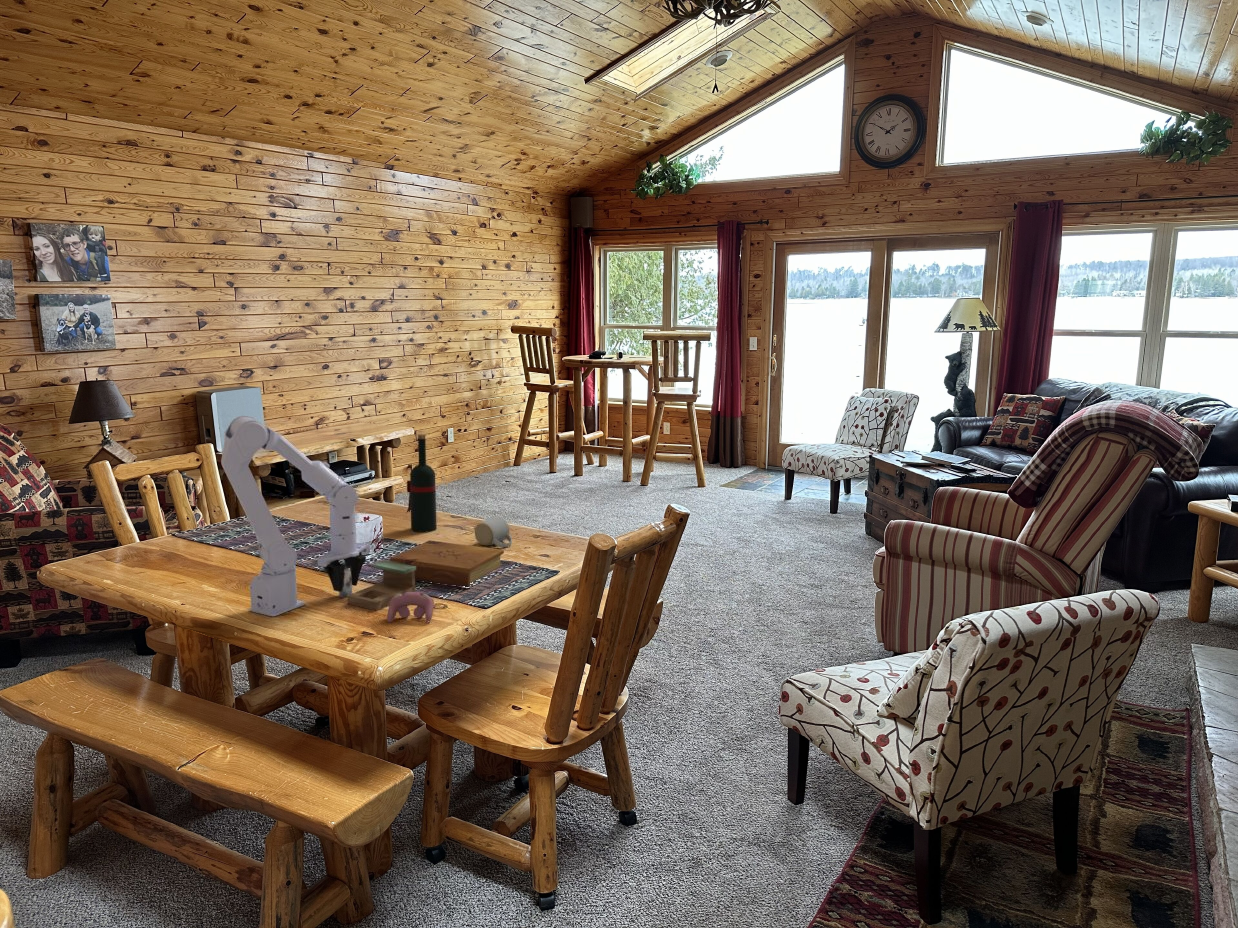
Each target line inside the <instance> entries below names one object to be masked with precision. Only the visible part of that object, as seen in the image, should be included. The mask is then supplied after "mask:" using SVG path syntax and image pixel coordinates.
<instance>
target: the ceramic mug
mask: <svg viewBox="0 0 1238 928" xmlns="http://www.w3.org/2000/svg"><path fill="white" fill-rule="evenodd" d="M474 537H475V539H476V541H477V543H479V544H480V545H481V546H483V547H487V546H492V545H495V546H496V547H499V548H504V547H506V548H508V546H509V547H511V545H512V543H513V539H512V536H510V527H509V524H508V522H507V520H506V519H505V518H504V517H502V516H501V515H495V516H492V517H490V518H488V519H485V520H483V521H481V522H480V523H478V524H477V525H476V526H475V528H474ZM506 540H507V541H508V542H503V541H506Z"/></svg>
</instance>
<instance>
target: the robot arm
mask: <svg viewBox="0 0 1238 928" xmlns="http://www.w3.org/2000/svg"><path fill="white" fill-rule="evenodd" d="M261 449H263V450H265V451H271V452H273V451H274V452H275V453H277V454H278V455H280V456H281V457H282V458H283V459H285V460H286V461H287V462H289V463H290V464H292V465H293V466H294V467H295V468H297V469H298V470H299V471H300V472H301V480H302V481H303V482H305V483H306V484H307V485H309V486H310V487H311V488H312V489H314V491H315V492H317V493H318V494H319V495H321V496H322V497H324V498H325V500H326V501H327V502H329V503H330V504H329V525H330V526H329V528H330V529H329V530H330V533H329V535H330V551H328V552H326V553H325V554H323V555H321V556H319V557H317V566H318V567H322V568H323V569H324V571H325V572H326V575H328V578H329V580H330V583H331V586H332V589H333V591H335V592H337V593H339V592H341V591H342V589H343V573H344V569H345V566H351V570H352V587H353V586H354V587H356V586H358V583H359V582H358V581H359V577H360V575H361V574H360V573H361V570H362V568H363V566H364V564H365V562H366V560H367V556H366V555H365V554H364V555H363V553H368V552H370V544H369V543H366V542H362V543H358V544H357V526H356V525H357V522H356V520H357V519H356V510H355V509H356V507H355V506H356V505H357V503H358V501H359V498H360V497H359V495H358V493H357V491H356V489H355V488H354V487H353V486H352V485H350V484H349V483H347V482H346V481H345V479H346V478H345V477H344V476H342V475H340V476H339V475H338V474H337V473H335V472H334V471H333V470H332V469H330V466H331V465H330V464H329V463H327V462H326V461H321V460H310V459H309V458H308V457H307V456H306V455H305V454H304V453H302V452H301V451H300V450H299V449H298V448H297V447H295V446H294V445H293V444H292V443H291V442H290V441H289V440H288V439H286V438H285V437H284V436H283V435H282V434H280V433H279V432H276V431H275V430H273V429H272V428H270V427H268V426H266V425H265V424H264V423H262V422H261V421H259V420H256V419H254V418H253V417H252V416H249V415H241V416H237V417H235V418H234V419H233V420H231V422H230V423H229V424H228V427H227V429H226V430H225V431H224V444H223V449H222V455H221V461H220V463H221V466H222V468H223V471H224V473H225V475H226V477H227V479H228V481H229V483H230V485H231V487H232V489H233V491H234V494H235V496H236V497H237V499H238V501H239V504H240V505H241V507H242V509H243V511H244V514H245V516H246V517H247V520H248V522H249V524H250V526H251V527H252V530H253V532H254V534H255V537H256V540H257V543H258V555H259V557H260V559H261V560H263V564H262V566H261V568H260V570H261V571H260V573H259V574H258V575H256V576H254V577H253V578H251V580H250V582H249V583H250V584H249V589H250V591H249V593H250V594H249V595H250V608H248V611H250V612H254V613H257V614H261V615H264V616H268V617H277V616H279V615H282V614H284V613H287V612H290V611H292V610H294V609H297V608H300V607H302V606H306V604H307V602H306V601H303V600H298V587H297V584H298V583H297V570H296V568H297V566H296V564H297V561H298V554H297V551H296V550H295V548H293V547H292V546H290V545H289V544H288V543H287V541H286V539H285V537H284V536H283V534H282V532H281V531H280V529H279V528H278V526H277V524H276V521H275V518H274V517H273V515H272V513H271V511H270V509H269V507H268V504H267V502H266V501H265V498H264V496H263V494H262V491H261V490H260V488H259V485H258V484H257V481H256V479H255V476H254V475H253V472H252V470H251V469H250V467H249V464H250V463H251V461H252V460H253V457H254V455H256V453H257V452H258V451H259V450H261ZM343 560H344V561H343ZM341 561H343V562H344V564H343V563H341Z"/></svg>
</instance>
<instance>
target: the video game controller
mask: <svg viewBox="0 0 1238 928" xmlns="http://www.w3.org/2000/svg"><path fill="white" fill-rule="evenodd" d="M409 606H415V608H414V610H413V616H414V617H415V618H416V617H417V619H421V618H420V617H422V618H423V617H425V618H424V620H425V623H427V622H428V621H430V620H431V621H432V619H433V614H434V606H435V601H434V599H433V598H432V596H430V595H428V594H426V593H423V592H418V591H417V592H416V591H415V592H406V593H402V594H397V595H395V596H394V597H393V598H392V600H391V602H390V605H389V606H388V610H387V615H386V616H387V617H386V620H387V622H388V623H389V624H390V623H392V622H393V621H394V619H395V618H396V615H397V613H398V614H399V616H400V618H402V619H407V618H408V617H409V616H410V615H411V611H410V609H409ZM406 617H407V618H406ZM431 621H430V622H431Z"/></svg>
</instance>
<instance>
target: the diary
mask: <svg viewBox="0 0 1238 928" xmlns="http://www.w3.org/2000/svg"><path fill="white" fill-rule="evenodd" d="M504 552H505V551H504V549H501V548H500V549H498V548H491V547H486V546H478V545H477V546H475V545H467V544H460V543H453V542H445V541H436V540H427V541H425V542H423V543H421V544H418V545H415V546H414V547H412V548H409V549H407V550H405V551H403V552H401V553H398V554H396V555H394V556H391V557H390V559H389V561H391V562H396V563H401V564H406V565H411V566H416V570H415V580H417V581H416V582H418V581H424V582H423V583H425V582H432V583H440V584H447V585H456V586H465V587H469V586H470V583H472V582H474V581H476V580H478V579H480V578H482V577H484V576H485V575H487V574H489V573H490V572H492V571H493V570H496V569H498V568H499V567H503V566H502V565H501V556H502V555H503V554H504ZM432 583H431V584H432Z"/></svg>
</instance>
